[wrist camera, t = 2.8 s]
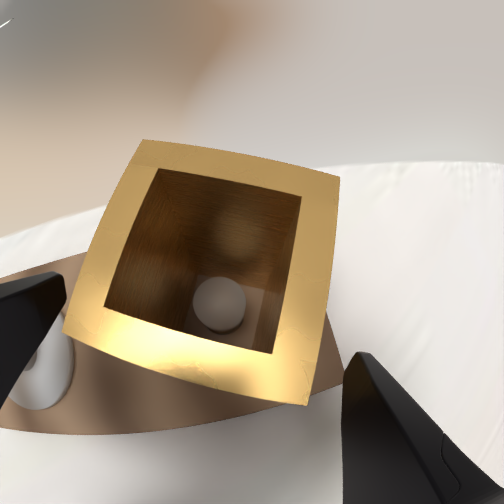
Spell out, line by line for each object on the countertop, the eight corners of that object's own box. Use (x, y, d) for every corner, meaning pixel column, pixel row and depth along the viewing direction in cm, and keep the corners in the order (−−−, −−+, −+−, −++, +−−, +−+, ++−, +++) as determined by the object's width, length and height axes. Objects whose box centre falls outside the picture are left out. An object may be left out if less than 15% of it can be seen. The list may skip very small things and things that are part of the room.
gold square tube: (284, 277, 17) (340, 177, 8) (263, 377, 15) (306, 405, 5) (187, 255, 17) (142, 139, 8) (160, 350, 15) (61, 332, 5)
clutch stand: (284, 214, 20) (302, 160, 14) (338, 380, 16) (384, 386, 10) (-7, 288, 16) (-52, 265, 11) (10, 425, 12) (-39, 431, 7)
